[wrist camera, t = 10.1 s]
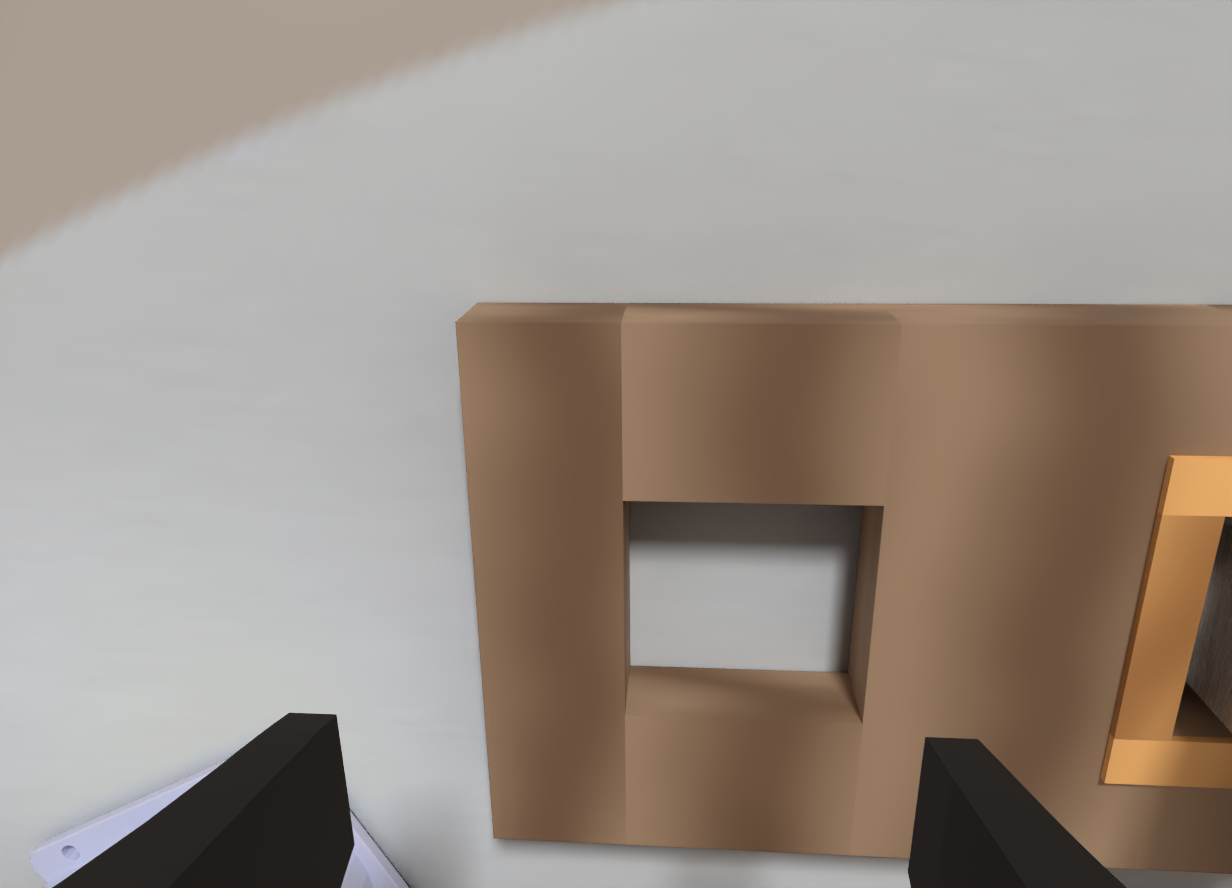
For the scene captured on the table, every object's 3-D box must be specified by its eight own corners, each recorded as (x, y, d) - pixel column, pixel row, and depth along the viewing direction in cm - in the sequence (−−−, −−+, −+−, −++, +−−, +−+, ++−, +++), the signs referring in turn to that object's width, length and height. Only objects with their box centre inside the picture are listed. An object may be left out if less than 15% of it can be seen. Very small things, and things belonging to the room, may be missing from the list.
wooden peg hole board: (508, 782, 24) (492, 844, 22) (477, 302, 20) (452, 324, 18) (1459, 823, 22) (1538, 895, 20) (1661, 305, 18) (1788, 330, 16)
